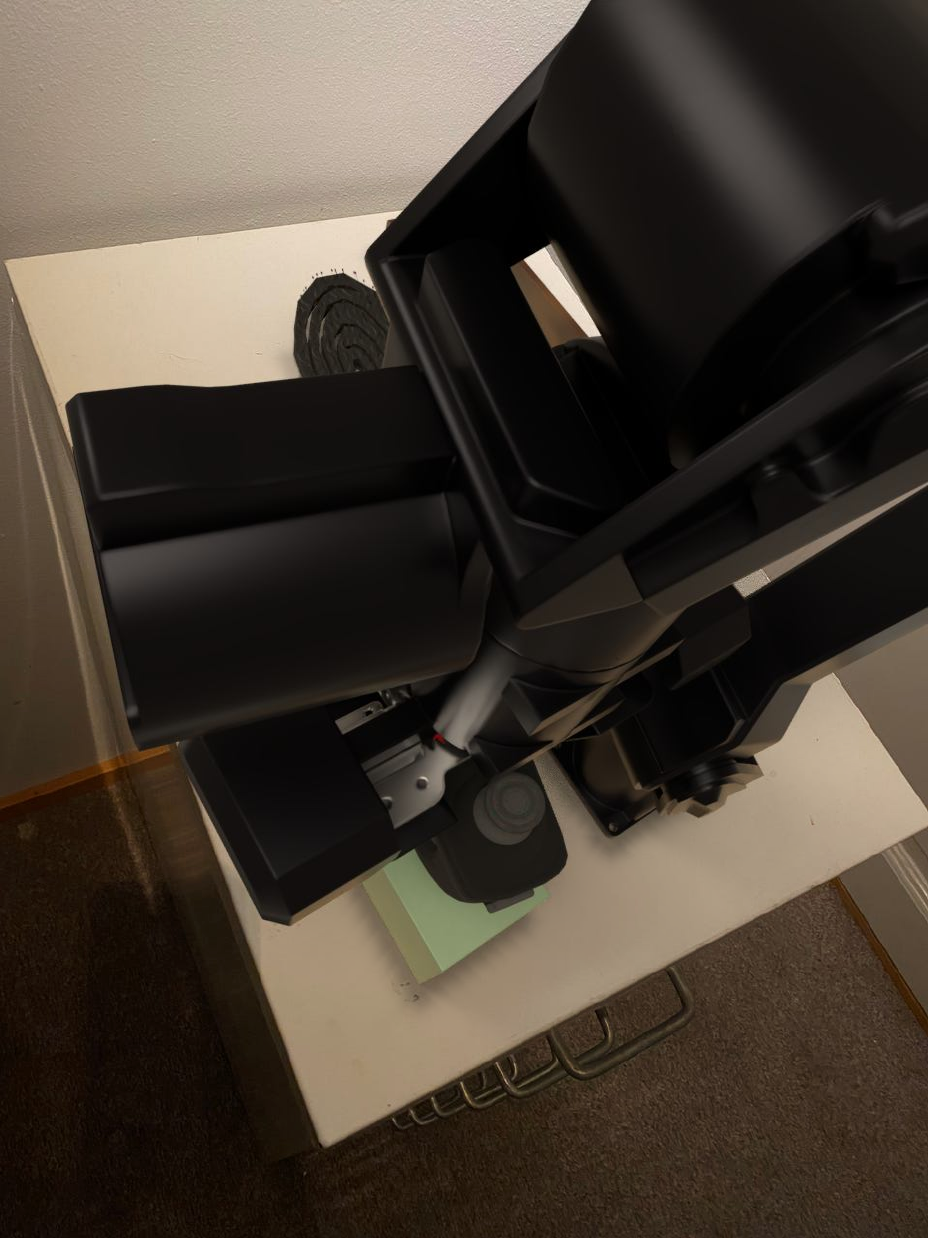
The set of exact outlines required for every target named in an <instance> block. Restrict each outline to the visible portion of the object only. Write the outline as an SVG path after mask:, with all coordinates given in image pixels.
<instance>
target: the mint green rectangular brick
mask: <svg viewBox="0 0 928 1238" xmlns="http://www.w3.org/2000/svg"><path fill="white" fill-rule="evenodd" d="M378 692H379V693H380V695H381V691H378ZM361 884H362V886H363V888H364V889H365V891H366V893H367V895H368V897H369V899H370V900H371V902H372V904H373V905H374V908H375V909H376V911H377V912H378V914H379V915H380V918H381V920H382V922H383V923H384V925H385V927H386V929H387V930H388V932H389V934H390V936H391V937H392V939H393V940H394V943H395V944H396V946H397V948H398V950H399V951H400V953H401V955H402V956H403V959H404V960H405V962H406V964H407V965H408V967H409V969H410V971H411V972H412V974H413V977H414V978H415V980H416V981H417V983H418V984H419V985H420V984H423V983H424V982H425V983H426V982H427V981H429V980H431V979H432V978H434V977H436V976H438V975H441V974H442V973H444V972H446V971H447V970H449V969H450V968H451V967H453V966H455V965H456V964H457V963H458V962H460V961H462V960H463V959H464V958H466V957H467V956H469V955H471V954H472V953H473V952H474V951H476V950H477V949H479V948H480V947H481V946H484V944H486V943H488V942H489V941H490V940H492V939H493V938H494V937H496V936H497V935H499V934H500V933H501V932H503V931H504V930H506V929H507V928H509V927H510V926H512V925H513V924H515V923H516V922H517V921H518V920H520V919H522V918H523V917H524V916H526V915H528V913H530V912H531V911H533V910H534V909H536V908H537V907H539V906H540V905H542V904H543V903H544V902H546V901H547V900H549V899H550V898H551V896H552V895H551V893H550V892H549V891H548V889H547V887H546V886H545V884H543V885H541V886H539V887H536V888H534V889H533V890H534V896H533V897H530V898H528V899H526V900H524V901H521V902H519V903H517V904H514V905H512V906H509V907H507V908H505V909H502V910H499V911H497V912H495V913H492V914H491V913H489V912H488V911H487V909H486V906H485V905H484V904H483V903H465V902H460V901H458V900H456V899H454V898H452V897H450V896H449V895H447V894H446V893H445V892H444V891H443V890H442V889H441V888H440V887H439V886H438V885H437V884H436V882H435V881H434V880H433V878H432V877H431V876H430V874H429V873H428V872H427V870H426V868H425V867H424V865H423V864H422V862H421V860H420V859H419V857H418V855H417V853H416V851H415V849H414V850H412V851H410V852H409V853H407V854H405V855H404V856H402V857H400V858H399V859H397V860H395V861H393V862H390V863H389V864H387V865H386V866H385V867H383V868H382V869H381V870H379V871H378V872H377V873H375V874H374V875H372V876H371V877H370V878H368V879H367V880H365V881H363V882H362V883H361Z"/></svg>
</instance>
